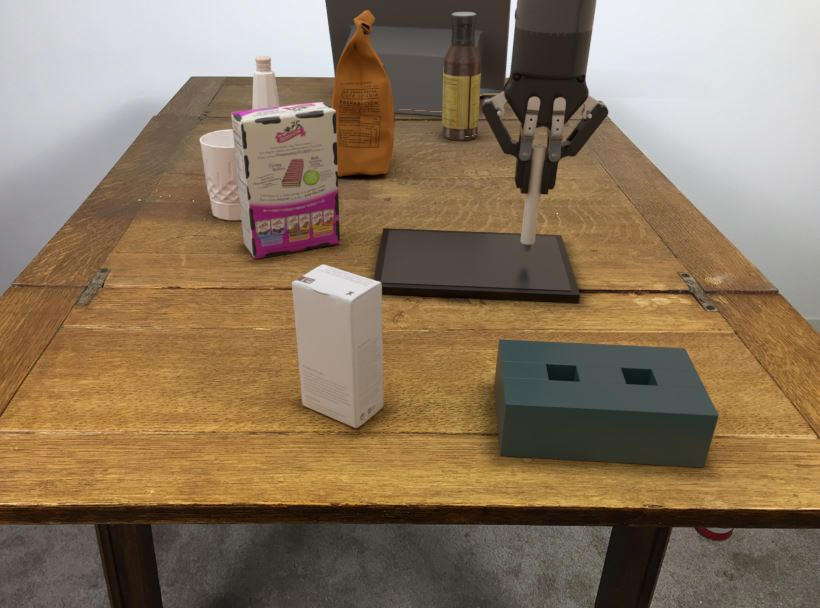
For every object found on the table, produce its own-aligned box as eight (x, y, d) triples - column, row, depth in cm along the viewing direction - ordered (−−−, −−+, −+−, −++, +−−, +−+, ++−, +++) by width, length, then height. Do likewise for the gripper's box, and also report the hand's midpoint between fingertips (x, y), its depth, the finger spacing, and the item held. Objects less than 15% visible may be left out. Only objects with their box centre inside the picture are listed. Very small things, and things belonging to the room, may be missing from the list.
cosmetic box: (385, 406, 67) (388, 279, 61) (354, 433, 64) (354, 302, 58) (328, 383, 70) (325, 260, 64) (296, 407, 67) (289, 280, 61)
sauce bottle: (468, 129, 139) (476, 9, 129) (483, 139, 134) (493, 15, 124) (434, 132, 137) (440, 10, 127) (448, 143, 132) (455, 16, 122)
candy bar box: (326, 230, 100) (322, 99, 92) (341, 245, 96) (339, 109, 88) (240, 244, 96) (229, 109, 88) (252, 260, 92) (241, 120, 84)
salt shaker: (253, 124, 141) (249, 60, 136) (250, 116, 146) (245, 54, 140) (283, 122, 142) (280, 59, 137) (279, 114, 147) (276, 53, 141)
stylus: (532, 247, 90) (545, 144, 84) (534, 253, 89) (547, 149, 82) (518, 247, 90) (530, 144, 84) (519, 252, 89) (531, 148, 83)
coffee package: (397, 155, 126) (401, 8, 115) (391, 182, 115) (394, 22, 104) (336, 153, 127) (334, 7, 116) (324, 179, 116) (320, 21, 105)
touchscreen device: (504, 94, 161) (519, -70, 145) (495, 123, 145) (510, -58, 129) (339, 84, 168) (336, -74, 151) (313, 110, 151) (306, -63, 135)
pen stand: (493, 387, 70) (498, 338, 67) (673, 396, 69) (685, 347, 66) (500, 456, 62) (505, 404, 59) (704, 467, 60) (719, 415, 58)
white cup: (196, 210, 105) (187, 137, 100) (244, 196, 110) (238, 125, 105) (229, 227, 100) (222, 151, 95) (278, 212, 105) (274, 138, 100)
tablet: (383, 235, 99) (383, 227, 98) (560, 242, 97) (561, 234, 96) (372, 294, 85) (372, 285, 84) (578, 303, 83) (580, 294, 83)
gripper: (485, 28, 74) (471, 202, 83) (632, 31, 73) (603, 206, 82) (482, 15, 81) (469, 178, 89) (617, 18, 80) (591, 182, 89)
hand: (533, 191), depth 86 cm, fingers closed on stylus, 1 cm apart
